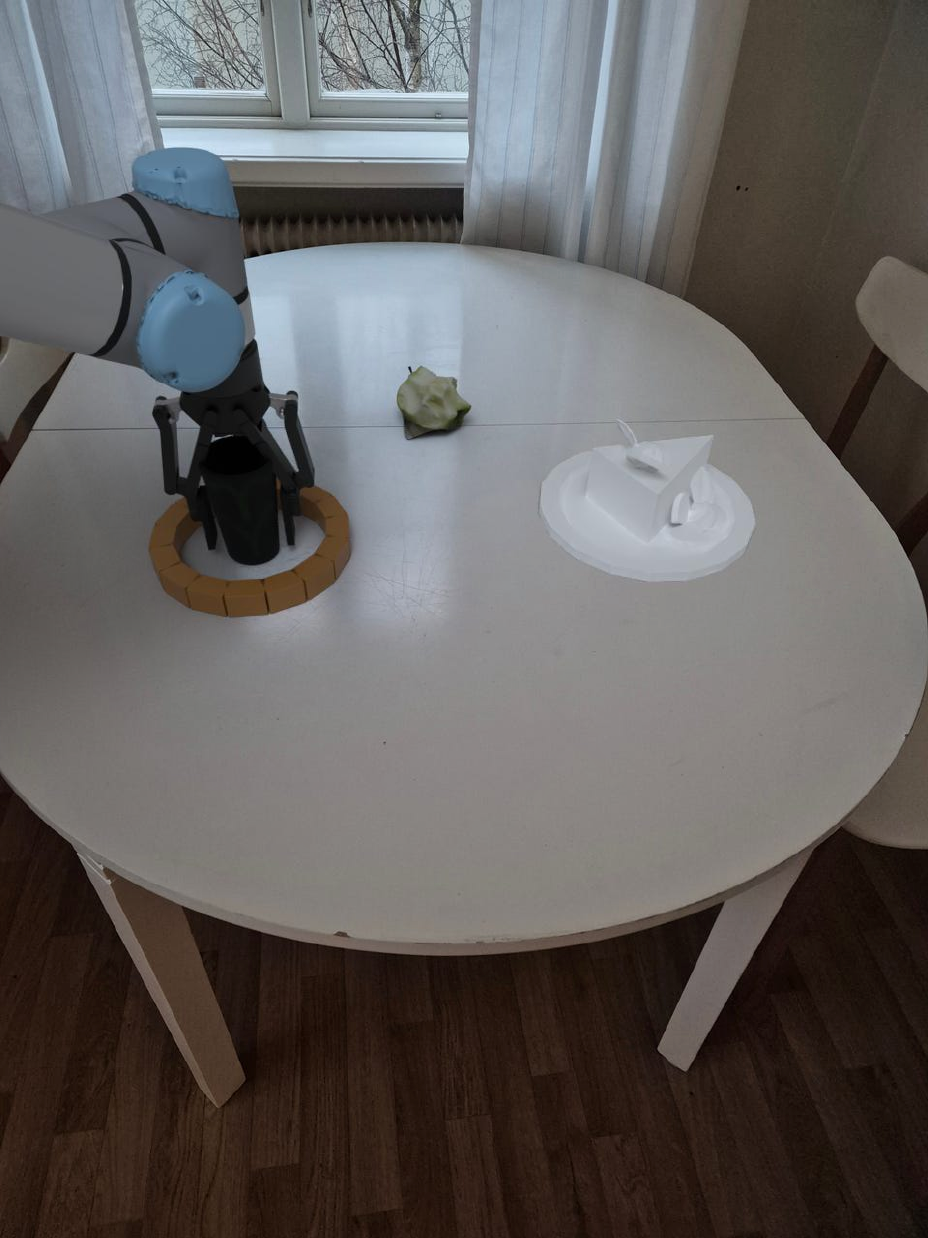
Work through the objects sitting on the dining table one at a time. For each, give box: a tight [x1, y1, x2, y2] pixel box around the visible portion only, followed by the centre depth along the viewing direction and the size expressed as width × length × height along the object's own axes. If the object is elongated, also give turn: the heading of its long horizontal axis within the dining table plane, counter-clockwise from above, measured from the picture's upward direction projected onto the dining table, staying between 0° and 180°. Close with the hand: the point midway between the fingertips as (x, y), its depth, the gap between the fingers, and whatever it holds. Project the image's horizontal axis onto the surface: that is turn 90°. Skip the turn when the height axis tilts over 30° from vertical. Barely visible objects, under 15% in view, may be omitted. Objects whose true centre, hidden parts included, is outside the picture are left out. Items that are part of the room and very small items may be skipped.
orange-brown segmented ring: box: [148, 477, 352, 618], centre depth 94 cm, size 21×21×3 cm
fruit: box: [396, 365, 472, 441], centre depth 113 cm, size 9×9×8 cm
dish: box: [538, 418, 756, 583], centre depth 97 cm, size 25×25×11 cm
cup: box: [198, 435, 281, 565], centre depth 90 cm, size 8×8×12 cm
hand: (252, 539), depth 94 cm, fingers closed on cup, 8 cm apart
